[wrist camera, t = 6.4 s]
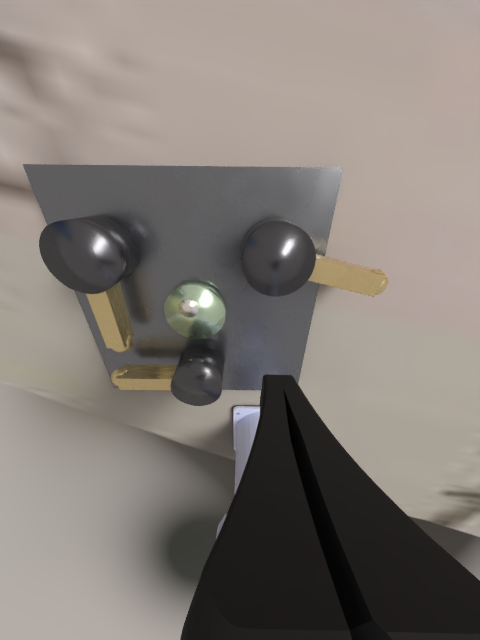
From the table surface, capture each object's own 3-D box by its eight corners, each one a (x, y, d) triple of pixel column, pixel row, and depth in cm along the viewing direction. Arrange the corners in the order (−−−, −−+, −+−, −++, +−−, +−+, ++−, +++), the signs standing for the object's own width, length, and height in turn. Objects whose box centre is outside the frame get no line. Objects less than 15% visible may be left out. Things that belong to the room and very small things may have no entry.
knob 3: (235, 272, 16) (234, 287, 14) (251, 209, 14) (253, 213, 11) (355, 301, 18) (376, 321, 15) (386, 247, 15) (417, 259, 13)
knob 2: (223, 346, 20) (220, 370, 17) (224, 379, 22) (222, 406, 20) (116, 344, 20) (96, 368, 17) (128, 378, 22) (112, 404, 20)
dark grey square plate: (294, 382, 24) (299, 399, 22) (120, 379, 25) (109, 396, 23) (336, 169, 14) (351, 165, 12) (38, 166, 14) (4, 162, 12)
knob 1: (66, 214, 15) (24, 219, 12) (130, 215, 15) (104, 220, 12) (110, 336, 20) (88, 360, 17) (158, 337, 20) (144, 360, 17)
